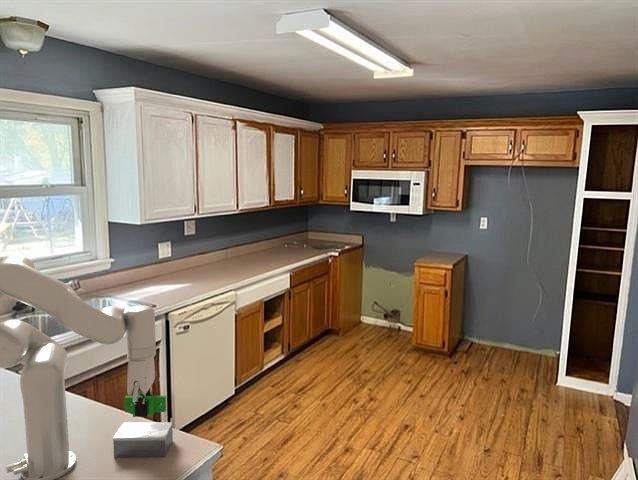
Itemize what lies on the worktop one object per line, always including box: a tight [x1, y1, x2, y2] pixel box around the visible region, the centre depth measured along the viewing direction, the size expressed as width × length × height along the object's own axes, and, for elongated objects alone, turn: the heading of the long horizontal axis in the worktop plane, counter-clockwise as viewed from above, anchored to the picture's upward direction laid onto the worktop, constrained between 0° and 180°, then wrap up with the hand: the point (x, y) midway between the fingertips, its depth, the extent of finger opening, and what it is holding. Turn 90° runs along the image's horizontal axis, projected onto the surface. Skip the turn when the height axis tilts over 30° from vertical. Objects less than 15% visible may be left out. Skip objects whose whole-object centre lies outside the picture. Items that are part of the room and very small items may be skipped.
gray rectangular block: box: [112, 421, 174, 459], centre depth 133 cm, size 14×8×6 cm, turn 93°
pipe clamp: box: [124, 395, 167, 418], centre depth 132 cm, size 11×4×5 cm, turn 93°
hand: (143, 411), depth 132 cm, fingers closed on pipe clamp, 3 cm apart
